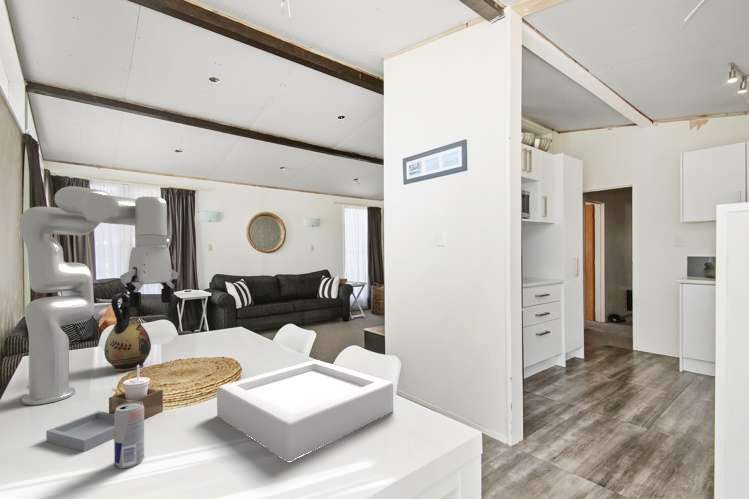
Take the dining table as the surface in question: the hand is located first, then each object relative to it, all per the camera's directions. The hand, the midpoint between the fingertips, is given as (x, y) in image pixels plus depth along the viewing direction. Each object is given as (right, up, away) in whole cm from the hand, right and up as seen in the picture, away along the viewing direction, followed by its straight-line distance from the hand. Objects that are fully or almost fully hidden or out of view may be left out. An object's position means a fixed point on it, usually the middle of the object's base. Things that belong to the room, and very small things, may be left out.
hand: (151, 304), depth 101 cm
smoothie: (-5, -31, +2) cm, 32 cm away
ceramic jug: (-37, -32, +45) cm, 66 cm away
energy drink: (+8, -31, -22) cm, 39 cm away
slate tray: (-9, -31, -9) cm, 34 cm away
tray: (+42, -31, +2) cm, 52 cm away
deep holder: (-5, -31, +2) cm, 31 cm away
